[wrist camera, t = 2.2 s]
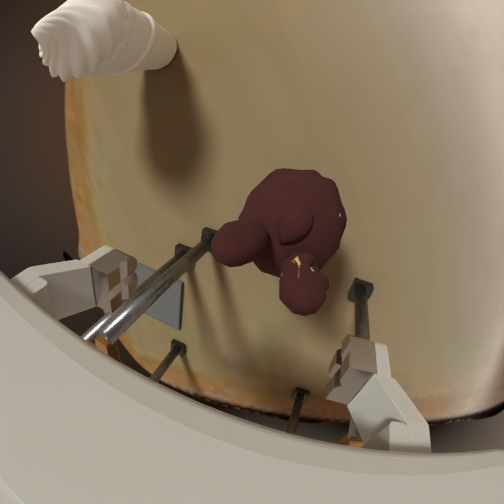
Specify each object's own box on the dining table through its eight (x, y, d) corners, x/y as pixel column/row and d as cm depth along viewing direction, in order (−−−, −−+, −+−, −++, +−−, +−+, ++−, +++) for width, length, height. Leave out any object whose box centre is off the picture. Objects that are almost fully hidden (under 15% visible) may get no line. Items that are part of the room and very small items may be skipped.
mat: (183, 282, 33) (181, 284, 32) (180, 327, 36) (178, 329, 36) (132, 260, 34) (130, 261, 34) (134, 305, 38) (132, 307, 37)
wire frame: (373, 283, 25) (381, 440, 11) (304, 398, 35) (274, 502, 21) (181, 218, 29) (57, 303, 14) (173, 347, 39) (110, 430, 24)
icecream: (361, 186, 22) (388, 263, 9) (315, 249, 26) (283, 368, 13) (294, 142, 22) (228, 155, 9) (254, 209, 26) (165, 292, 13)
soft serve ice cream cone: (121, 75, 24) (-2, 76, 10) (151, 13, 20) (35, -19, 6) (172, 96, 24) (31, 95, 10) (209, 26, 19) (85, -32, 6)
